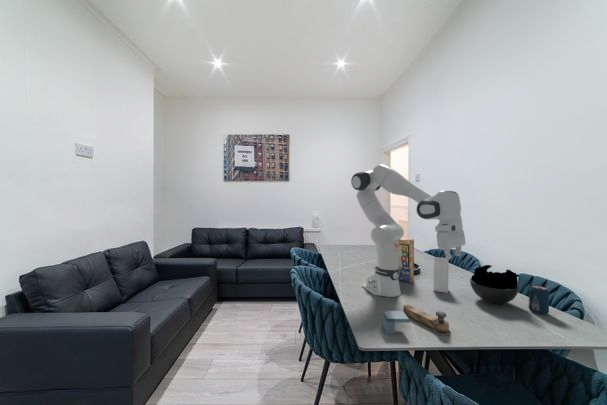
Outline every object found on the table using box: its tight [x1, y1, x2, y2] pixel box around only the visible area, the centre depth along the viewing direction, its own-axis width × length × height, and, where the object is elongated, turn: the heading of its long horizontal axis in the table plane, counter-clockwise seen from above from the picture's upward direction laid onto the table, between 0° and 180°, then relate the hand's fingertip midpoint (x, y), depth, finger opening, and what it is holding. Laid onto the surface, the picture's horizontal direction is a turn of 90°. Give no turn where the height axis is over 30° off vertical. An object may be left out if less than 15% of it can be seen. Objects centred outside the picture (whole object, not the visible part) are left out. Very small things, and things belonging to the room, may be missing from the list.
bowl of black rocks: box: [469, 264, 520, 305], centre depth 129 cm, size 20×20×19 cm
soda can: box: [528, 284, 550, 316], centre depth 118 cm, size 7×7×12 cm
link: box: [402, 304, 450, 333], centre depth 108 cm, size 21×6×7 cm, turn 28°
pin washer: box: [430, 327, 452, 336], centre depth 102 cm, size 7×7×1 cm
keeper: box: [381, 310, 410, 335], centre depth 102 cm, size 8×7×6 cm
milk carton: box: [433, 256, 449, 294], centre depth 146 cm, size 7×7×19 cm
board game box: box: [394, 237, 415, 283], centre depth 167 cm, size 20×6×27 cm, turn 46°
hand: (453, 257), depth 111 cm, fingers open, 8 cm apart
